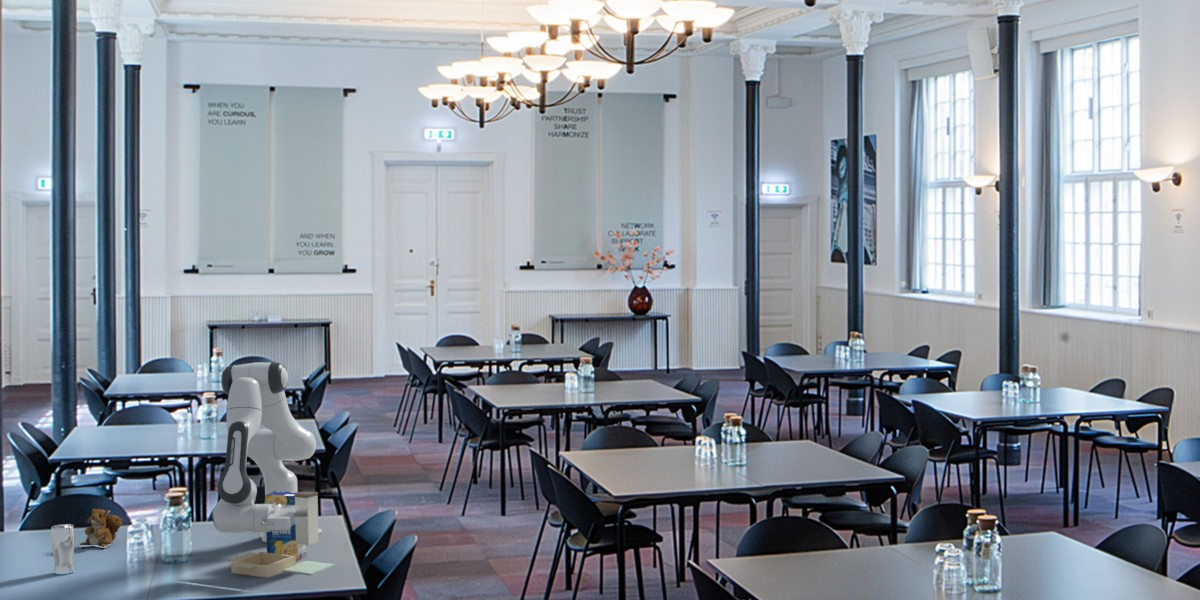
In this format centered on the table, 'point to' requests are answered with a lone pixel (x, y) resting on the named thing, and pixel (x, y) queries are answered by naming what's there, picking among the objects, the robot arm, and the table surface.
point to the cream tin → (307, 507)
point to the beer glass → (63, 547)
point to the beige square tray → (261, 564)
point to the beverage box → (286, 538)
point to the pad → (309, 567)
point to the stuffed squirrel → (102, 528)
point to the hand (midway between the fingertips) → (309, 516)
